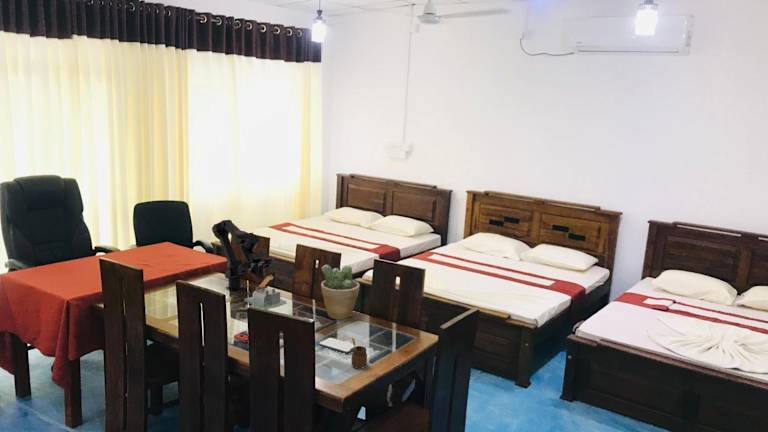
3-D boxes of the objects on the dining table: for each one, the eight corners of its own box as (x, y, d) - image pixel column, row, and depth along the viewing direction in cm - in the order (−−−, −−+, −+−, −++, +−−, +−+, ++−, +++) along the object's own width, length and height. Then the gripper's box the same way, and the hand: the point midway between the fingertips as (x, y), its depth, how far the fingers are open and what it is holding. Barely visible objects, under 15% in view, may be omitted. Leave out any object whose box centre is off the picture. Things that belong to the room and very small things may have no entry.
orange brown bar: (258, 291, 288) (257, 288, 289) (263, 289, 290) (261, 287, 291) (269, 279, 282) (267, 275, 282) (273, 277, 284) (271, 275, 284)
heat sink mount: (244, 301, 289) (244, 286, 287) (264, 295, 299) (264, 281, 297) (265, 309, 278) (265, 294, 277) (286, 303, 288) (286, 289, 286)
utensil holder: (369, 366, 220) (370, 337, 218) (356, 370, 216) (357, 340, 214) (361, 361, 225) (362, 332, 223) (347, 364, 221) (348, 335, 219)
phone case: (316, 346, 238) (347, 356, 229) (316, 343, 238) (347, 352, 229) (330, 340, 245) (360, 349, 237) (330, 336, 245) (360, 345, 236)
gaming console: (275, 319, 261) (290, 323, 255) (276, 325, 262) (290, 329, 255) (231, 334, 243) (246, 339, 237) (232, 340, 243) (246, 344, 237)
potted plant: (346, 306, 287) (348, 258, 282) (366, 318, 272) (368, 267, 267) (314, 312, 277) (314, 262, 272) (332, 324, 262) (333, 272, 257)
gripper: (240, 248, 281) (254, 274, 276) (271, 242, 295) (284, 267, 290) (231, 260, 287) (244, 286, 282) (261, 254, 301) (274, 279, 296)
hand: (262, 279), depth 287 cm, fingers closed
